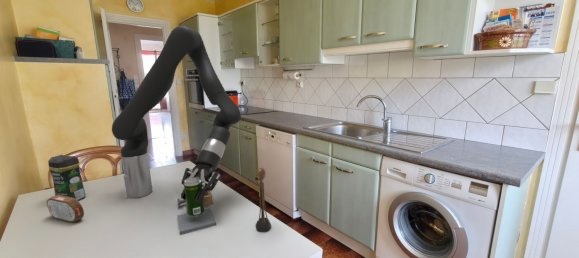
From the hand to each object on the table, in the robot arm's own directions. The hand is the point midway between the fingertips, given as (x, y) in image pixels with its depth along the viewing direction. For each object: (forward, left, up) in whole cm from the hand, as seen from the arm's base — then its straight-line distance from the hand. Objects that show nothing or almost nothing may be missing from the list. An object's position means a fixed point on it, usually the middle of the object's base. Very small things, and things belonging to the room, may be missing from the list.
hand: (190, 200), depth 84 cm
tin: (-39, +25, -9) cm, 47 cm away
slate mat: (+1, +1, -8) cm, 9 cm away
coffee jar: (-42, +44, -9) cm, 61 cm away
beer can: (+1, +1, -6) cm, 6 cm away
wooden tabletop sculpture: (+19, -14, -9) cm, 25 cm away
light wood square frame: (+3, +15, -8) cm, 18 cm away
